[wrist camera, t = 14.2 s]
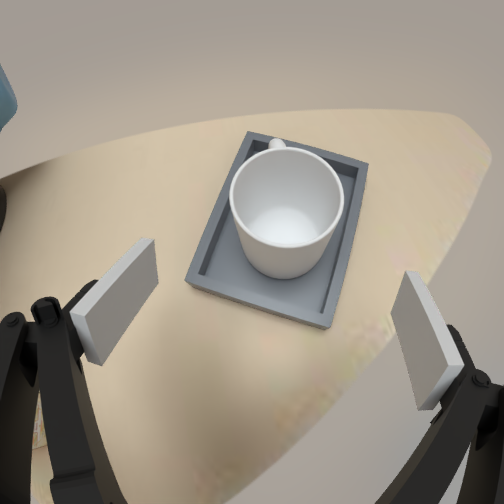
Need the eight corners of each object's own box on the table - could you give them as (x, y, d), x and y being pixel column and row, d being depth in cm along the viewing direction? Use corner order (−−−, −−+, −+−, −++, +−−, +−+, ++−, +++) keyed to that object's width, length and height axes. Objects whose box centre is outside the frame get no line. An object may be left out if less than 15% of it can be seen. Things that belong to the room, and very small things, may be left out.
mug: (238, 178, 34) (226, 116, 24) (312, 172, 34) (324, 110, 24) (244, 284, 30) (231, 252, 21) (328, 277, 30) (354, 242, 20)
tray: (192, 286, 32) (184, 280, 29) (249, 146, 36) (247, 131, 34) (324, 329, 29) (330, 327, 26) (362, 177, 34) (368, 163, 31)
